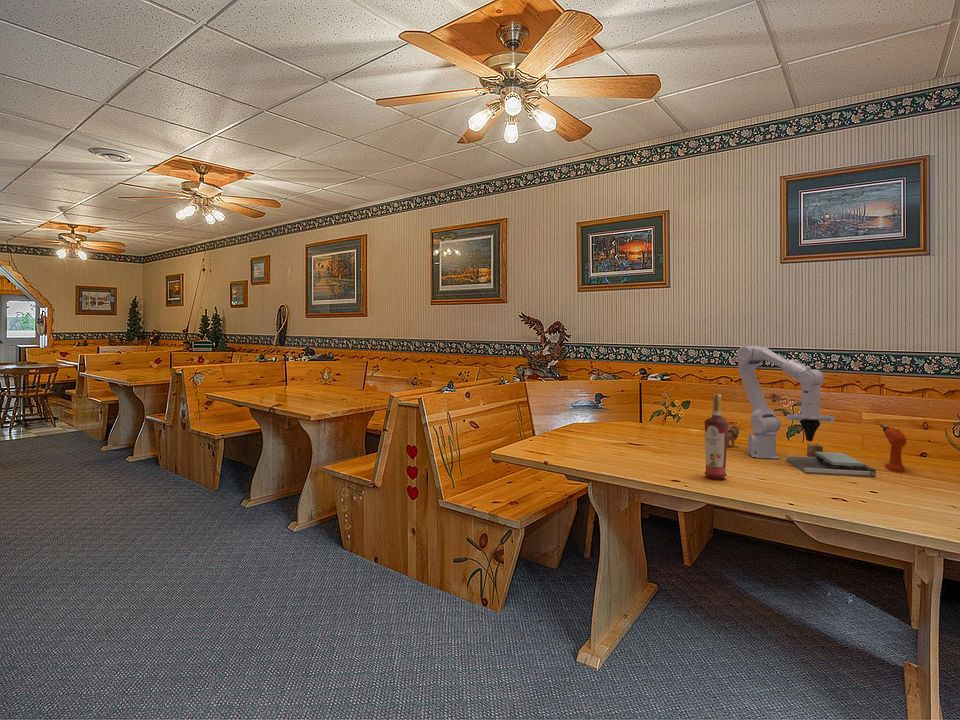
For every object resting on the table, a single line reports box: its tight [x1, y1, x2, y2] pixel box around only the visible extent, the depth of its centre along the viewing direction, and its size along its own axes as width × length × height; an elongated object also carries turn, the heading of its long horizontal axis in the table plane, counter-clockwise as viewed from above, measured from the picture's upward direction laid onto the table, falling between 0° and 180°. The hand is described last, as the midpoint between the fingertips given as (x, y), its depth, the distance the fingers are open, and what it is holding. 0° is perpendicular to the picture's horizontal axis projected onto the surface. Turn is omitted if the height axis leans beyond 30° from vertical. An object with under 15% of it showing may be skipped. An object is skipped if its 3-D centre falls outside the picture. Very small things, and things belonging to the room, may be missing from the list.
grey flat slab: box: [815, 451, 864, 471], centre depth 186 cm, size 9×16×3 cm, turn 166°
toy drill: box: [879, 424, 907, 473], centre depth 189 cm, size 5×19×15 cm, turn 161°
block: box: [806, 443, 824, 457], centre depth 203 cm, size 4×4×5 cm
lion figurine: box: [727, 424, 740, 448], centre depth 222 cm, size 15×5×9 cm, turn 111°
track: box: [786, 455, 877, 478], centre depth 186 cm, size 21×19×2 cm
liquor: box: [703, 393, 730, 480], centre depth 174 cm, size 7×7×28 cm
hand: (809, 440), depth 189 cm, fingers closed
